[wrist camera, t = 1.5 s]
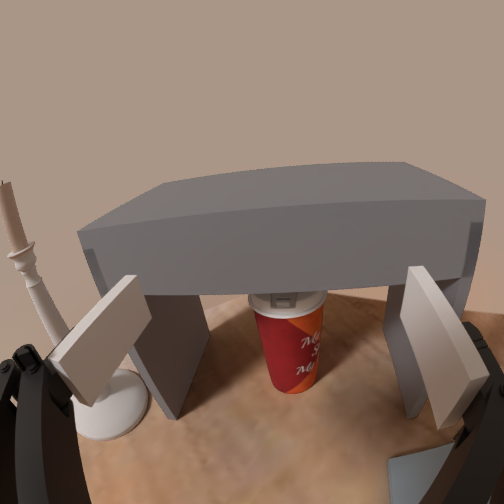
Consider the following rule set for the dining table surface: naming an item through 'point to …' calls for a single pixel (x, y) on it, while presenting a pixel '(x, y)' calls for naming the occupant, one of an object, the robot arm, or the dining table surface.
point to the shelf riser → (282, 252)
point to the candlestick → (121, 383)
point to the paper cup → (290, 336)
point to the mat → (415, 474)
